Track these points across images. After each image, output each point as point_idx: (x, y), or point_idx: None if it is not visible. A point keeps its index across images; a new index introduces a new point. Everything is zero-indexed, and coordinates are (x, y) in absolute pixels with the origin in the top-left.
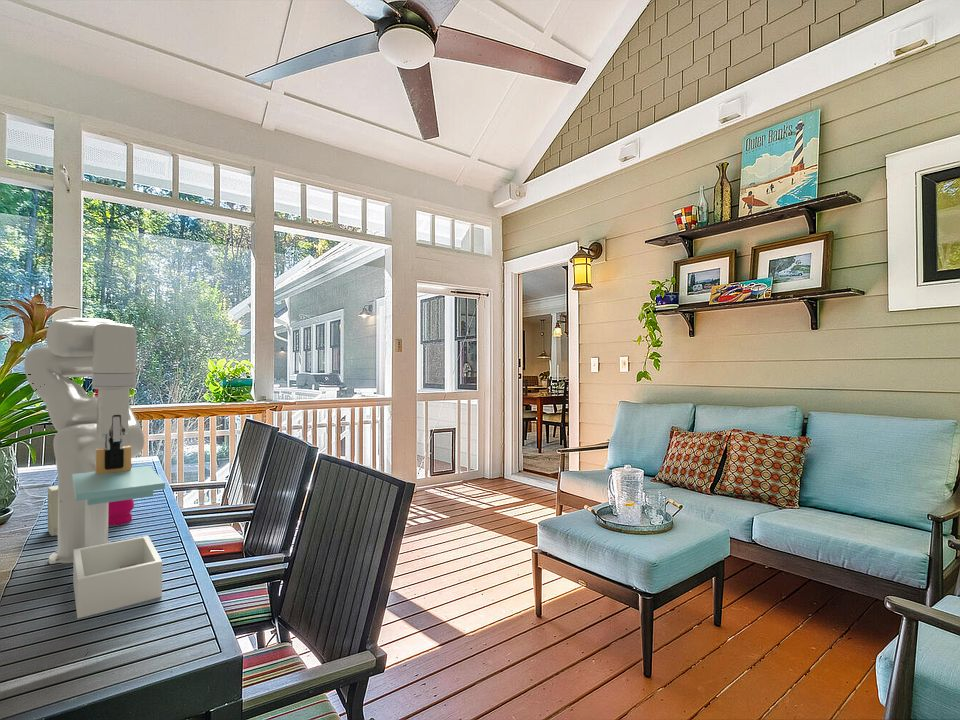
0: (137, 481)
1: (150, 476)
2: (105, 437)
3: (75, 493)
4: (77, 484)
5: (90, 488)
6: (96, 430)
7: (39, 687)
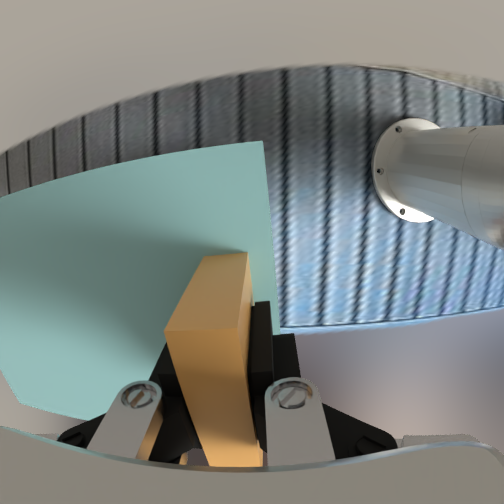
0: (33, 366)
1: (87, 406)
2: (273, 459)
3: None
4: (22, 200)
5: None
6: (419, 460)
7: (8, 171)
